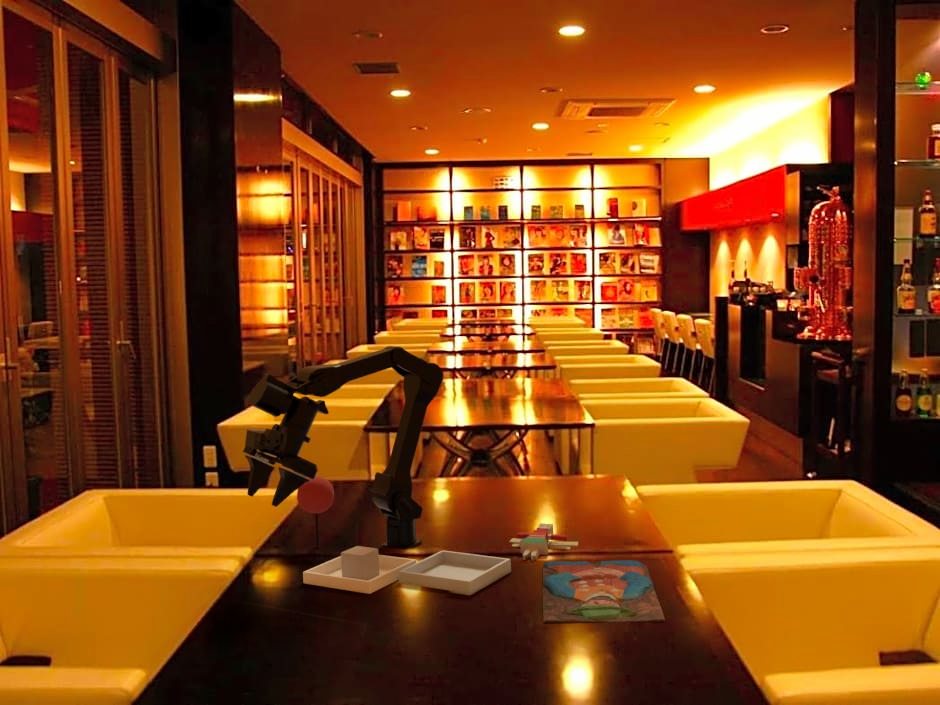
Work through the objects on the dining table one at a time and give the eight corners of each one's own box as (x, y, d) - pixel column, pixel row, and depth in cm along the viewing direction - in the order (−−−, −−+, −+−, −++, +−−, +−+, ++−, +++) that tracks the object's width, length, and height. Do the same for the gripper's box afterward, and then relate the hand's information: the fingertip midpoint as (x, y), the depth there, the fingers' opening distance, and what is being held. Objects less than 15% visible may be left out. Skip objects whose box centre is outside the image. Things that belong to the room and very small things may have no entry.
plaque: (646, 559, 193) (665, 613, 163) (647, 570, 193) (665, 626, 163) (542, 560, 194) (542, 614, 165) (543, 571, 195) (542, 627, 165)
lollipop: (329, 552, 211) (325, 480, 210) (294, 551, 213) (290, 480, 212) (341, 542, 219) (338, 473, 218) (307, 541, 220) (304, 473, 219)
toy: (492, 548, 202) (513, 519, 216) (493, 566, 203) (514, 536, 217) (563, 552, 197) (580, 523, 211) (564, 570, 198) (581, 540, 212)
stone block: (358, 571, 196) (357, 545, 195) (379, 574, 193) (378, 548, 193) (342, 578, 191) (340, 552, 191) (363, 582, 189) (362, 555, 188)
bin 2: (442, 562, 201) (442, 550, 200) (510, 571, 193) (510, 559, 193) (399, 584, 188) (398, 571, 187) (470, 595, 180) (469, 581, 180)
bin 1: (353, 563, 203) (352, 551, 202) (416, 572, 195) (416, 559, 195) (303, 585, 190) (302, 571, 189) (369, 595, 182) (369, 582, 182)
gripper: (239, 403, 201) (205, 477, 198) (288, 418, 187) (252, 497, 184) (282, 424, 208) (250, 496, 205) (333, 440, 194) (299, 516, 191)
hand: (261, 500), depth 196 cm, fingers open, 9 cm apart
